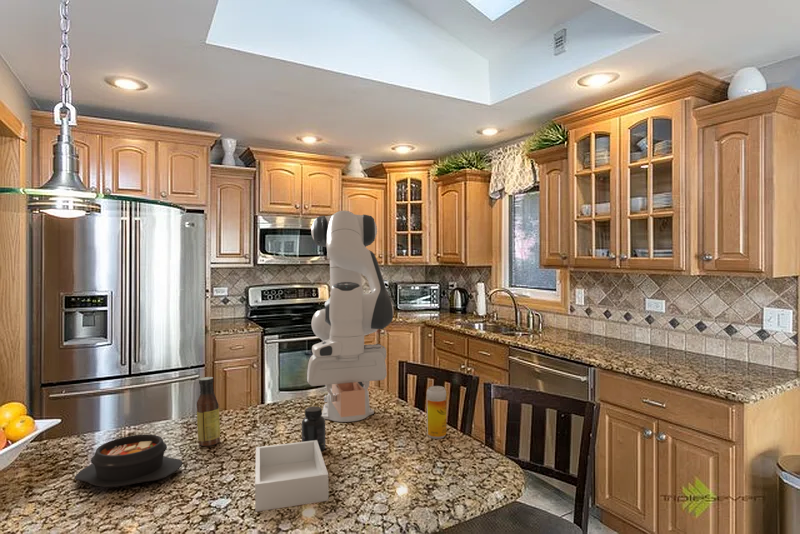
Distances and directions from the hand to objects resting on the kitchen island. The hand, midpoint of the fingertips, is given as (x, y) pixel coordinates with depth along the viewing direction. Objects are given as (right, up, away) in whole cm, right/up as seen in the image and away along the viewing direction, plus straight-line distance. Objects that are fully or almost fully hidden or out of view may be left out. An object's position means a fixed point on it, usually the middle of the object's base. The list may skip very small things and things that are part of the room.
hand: (347, 399), depth 121 cm
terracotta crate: (0, -2, 0) cm, 2 cm away
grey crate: (-14, -20, -5) cm, 24 cm away
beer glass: (+25, -19, +27) cm, 41 cm away
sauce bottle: (-45, -20, +23) cm, 54 cm away
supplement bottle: (-12, -20, +17) cm, 28 cm away
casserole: (-56, -20, +1) cm, 60 cm away
